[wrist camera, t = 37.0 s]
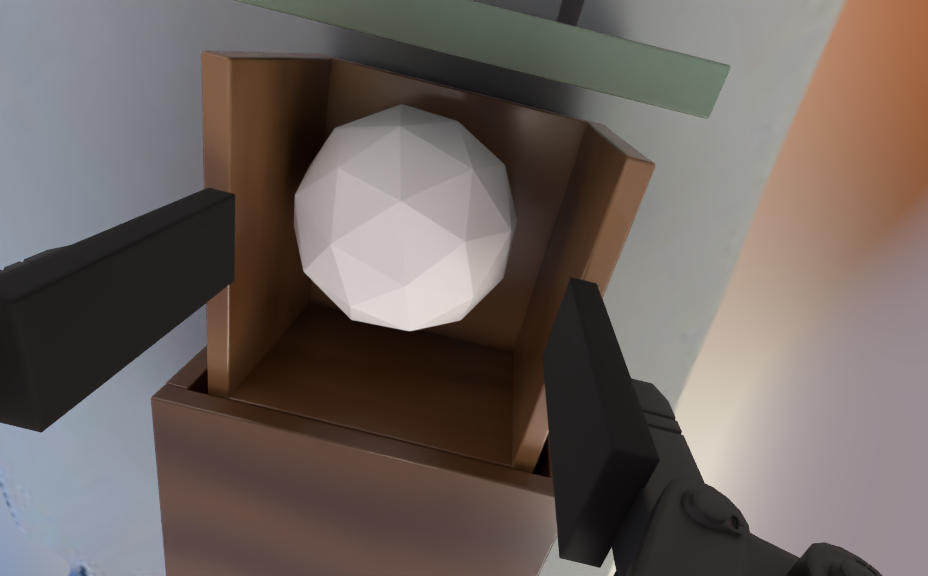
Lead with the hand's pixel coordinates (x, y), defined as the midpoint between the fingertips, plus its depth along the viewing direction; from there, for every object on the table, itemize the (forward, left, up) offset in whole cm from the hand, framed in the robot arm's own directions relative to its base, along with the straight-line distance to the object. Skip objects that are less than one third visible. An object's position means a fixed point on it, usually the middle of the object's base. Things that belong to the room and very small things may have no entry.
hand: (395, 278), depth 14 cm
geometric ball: (0, 0, -8) cm, 8 cm away
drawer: (-3, 0, -9) cm, 10 cm away
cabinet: (+14, 0, -10) cm, 17 cm away
